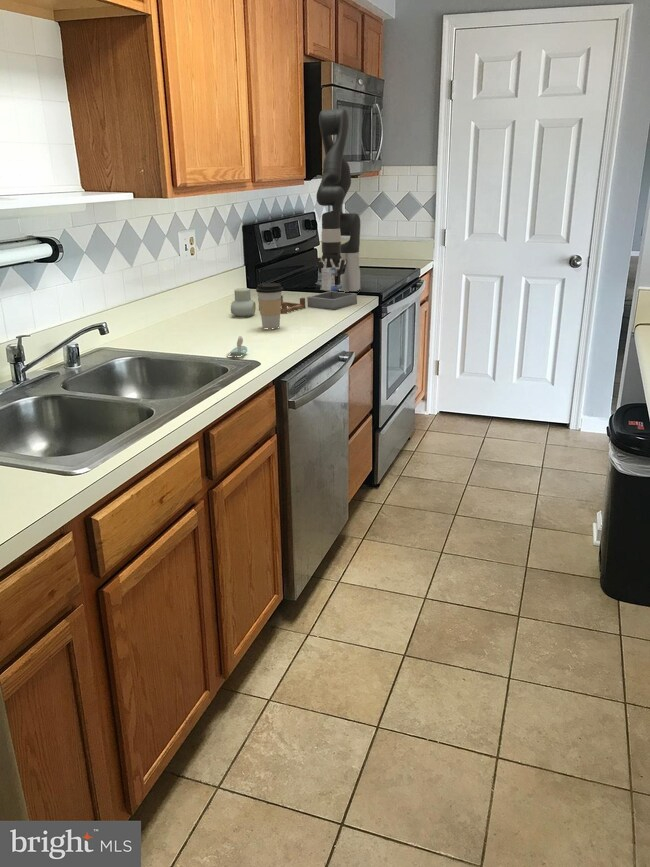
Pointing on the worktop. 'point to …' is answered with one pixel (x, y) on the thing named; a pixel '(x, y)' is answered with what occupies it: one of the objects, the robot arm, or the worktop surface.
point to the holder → (291, 305)
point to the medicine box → (329, 279)
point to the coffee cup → (270, 304)
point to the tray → (332, 300)
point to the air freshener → (243, 303)
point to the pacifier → (238, 348)
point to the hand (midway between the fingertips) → (331, 284)
